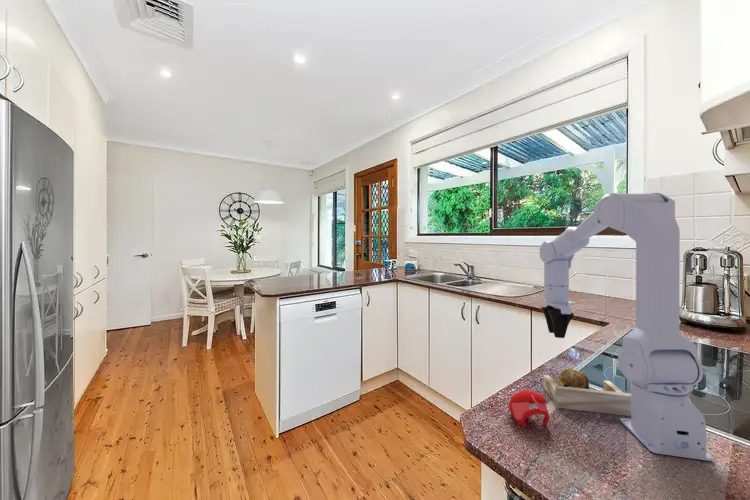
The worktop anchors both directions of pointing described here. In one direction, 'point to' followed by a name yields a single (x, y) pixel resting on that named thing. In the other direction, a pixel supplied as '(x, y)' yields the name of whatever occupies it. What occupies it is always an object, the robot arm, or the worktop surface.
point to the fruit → (572, 379)
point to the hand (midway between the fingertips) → (556, 335)
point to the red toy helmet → (527, 406)
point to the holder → (590, 398)
